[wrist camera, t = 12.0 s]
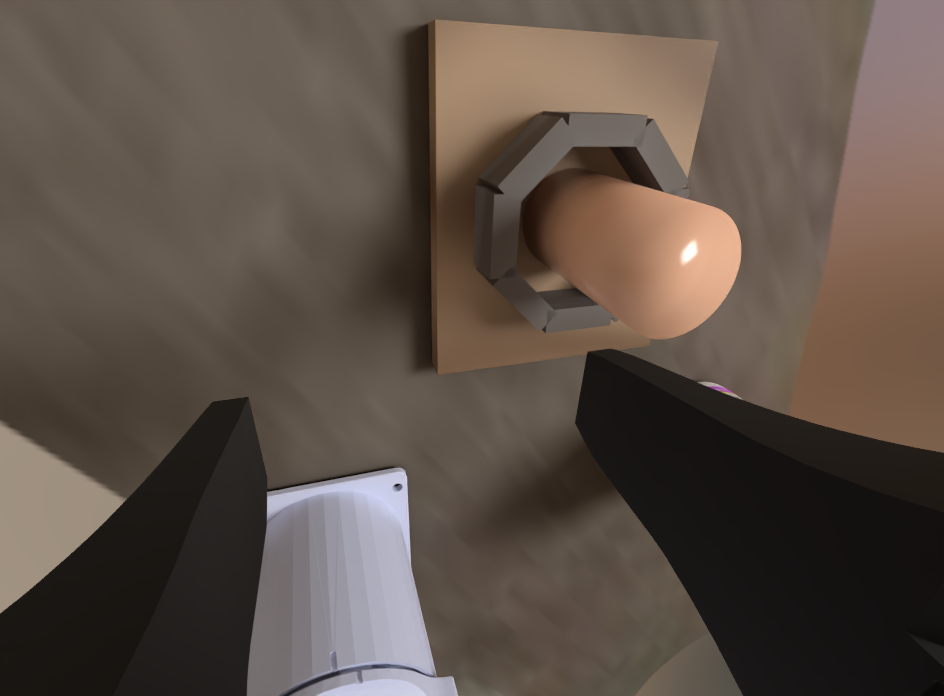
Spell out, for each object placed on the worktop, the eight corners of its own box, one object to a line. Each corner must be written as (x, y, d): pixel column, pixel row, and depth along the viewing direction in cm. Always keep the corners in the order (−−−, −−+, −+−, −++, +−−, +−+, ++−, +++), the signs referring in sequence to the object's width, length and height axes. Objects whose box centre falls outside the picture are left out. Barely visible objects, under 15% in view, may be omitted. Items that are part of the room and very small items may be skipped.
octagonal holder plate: (637, 336, 25) (675, 364, 23) (432, 363, 22) (449, 399, 19) (699, 43, 19) (761, 36, 16) (428, 23, 16) (452, 11, 13)
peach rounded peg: (604, 263, 21) (719, 331, 15) (519, 270, 20) (609, 346, 14) (619, 166, 19) (758, 202, 13) (527, 168, 18) (633, 208, 12)
